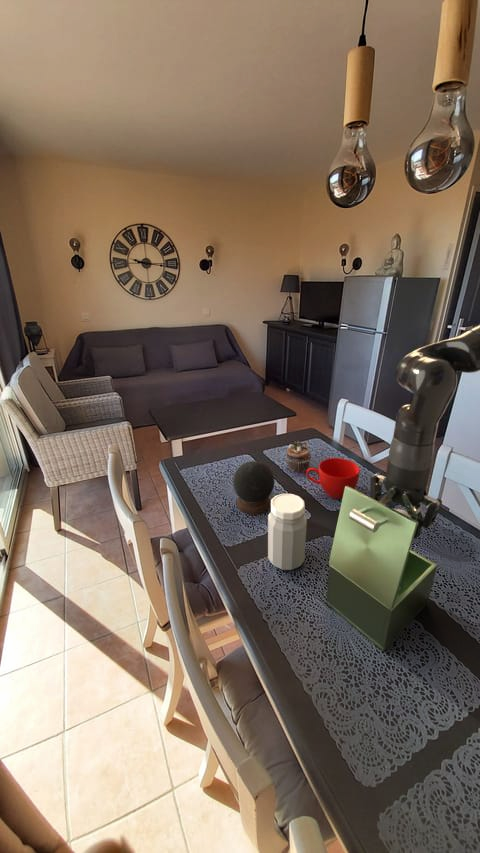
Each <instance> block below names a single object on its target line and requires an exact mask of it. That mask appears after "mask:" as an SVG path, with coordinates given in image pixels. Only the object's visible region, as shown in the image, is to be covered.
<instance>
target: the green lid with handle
mask: <svg viewBox="0 0 480 853" xmlns="http://www.w3.org/2000/svg"><path fill="white" fill-rule="evenodd" d="M394 509H395V508H392V507H390V506H389V507H388V506H386V505H384V504H382V503H380V502H378V501H376V500H374V499H372V498H370V496H368V495H367V494H364V493H363V492H360V491H359V490H357V489H356V488H355V489H353V488H351V487H349V486H345V490H344V494H343V498H341V504H340V508H339V514H338V518H337V523H336V528H335V531H334V537H333V541H332V546H331V551H330V556H329V560H328V565H329V566H330V565H331V566H332V567H334V568H335V569H336V570H338V571H339V572H340V573H342V574H343V575H344V576H346V577H347V578H349V579H350V580H351V581H353V582H354V583H355V584H357V585H358V586H359V587H361V588H362V589H363V590H365V591H366V592H368V593H369V594H370V595H372V596H373V597H374V598H376V599H377V600H378V601H380V602H381V603H383V604H384V605H385V606H387V607H388V608H389V609H392V608H393V607H394V603H395V600H396V596H397V593H398V590H399V586H400V583H401V579H402V576H403V573H404V569H405V566H406V563H407V559H408V556H409V552H410V549H411V548H412V545H413V542H414V539H415V538H414V536H415V532H416V529H417V525H418V522H417V521H415V520H413V519H411V518H409V517H408V516H406V515H404V514H402V513H400V512H398V511H396V510H394ZM411 550H412V549H411Z"/></svg>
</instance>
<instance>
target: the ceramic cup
mask: <svg viewBox="0 0 480 853" xmlns="http://www.w3.org/2000/svg"><path fill="white" fill-rule="evenodd" d="M310 471H311V472H315V473H316V474H317V476H318V478H319V480H318V479H315V478H313V477H312V476H310V474H309V472H310ZM305 472H306V473H305V474H306V477H307V478H308V479H309V480H310V481H311V482H313V483H314V484H315V483H316V484H318V485H320V487H321V488H322V489H323V491H324V492H325V493H326V494H327V496H329V497H331V498H333V499H337V500H338V499H339V500H340V499H341V500H342V499H343V494H344V490H345V486H349V487H351V488H353V489H355V490H356V487H357V484H358V482H359V477H360V474H361V473H360V472H361V469H360V467H359V466H358V464H356V463H355V462H354V461H352V460H349V459H346V458H341V457H331V458H325V459H323V460H321V462H320V463H319V464H318V469H317V468H315V467H308V470H306V471H305Z"/></svg>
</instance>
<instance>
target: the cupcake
mask: <svg viewBox="0 0 480 853" xmlns="http://www.w3.org/2000/svg"><path fill="white" fill-rule="evenodd" d="M285 459H286V465H287V468H288V469H289V471H292V472H294V473H303V472H307V470H308V469H309V468H310V463H311V460H312V455H311V453H310V449H309V444H307V443H306V442H300V441H299V440H295V441H294V442H292V443H291V444H289V445H288V448H286V452H285Z"/></svg>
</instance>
